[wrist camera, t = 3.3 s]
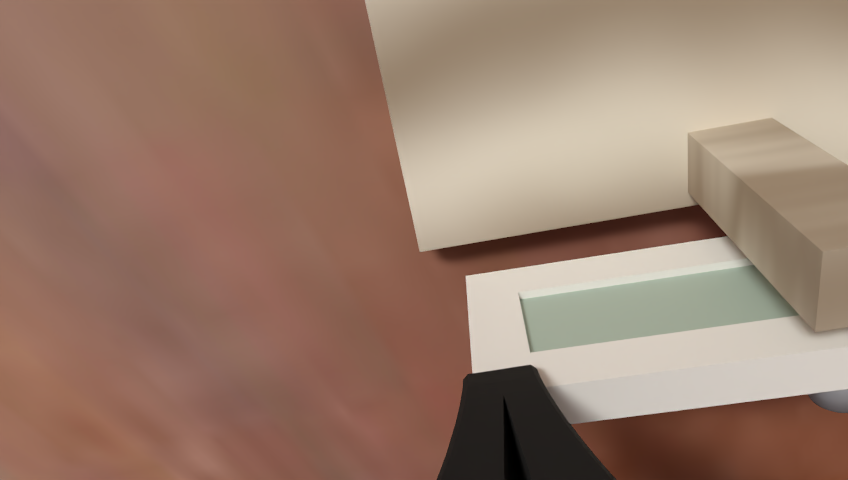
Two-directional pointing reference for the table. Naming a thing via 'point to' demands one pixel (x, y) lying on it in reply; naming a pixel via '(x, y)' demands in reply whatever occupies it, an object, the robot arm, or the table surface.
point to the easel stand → (629, 123)
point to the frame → (654, 333)
